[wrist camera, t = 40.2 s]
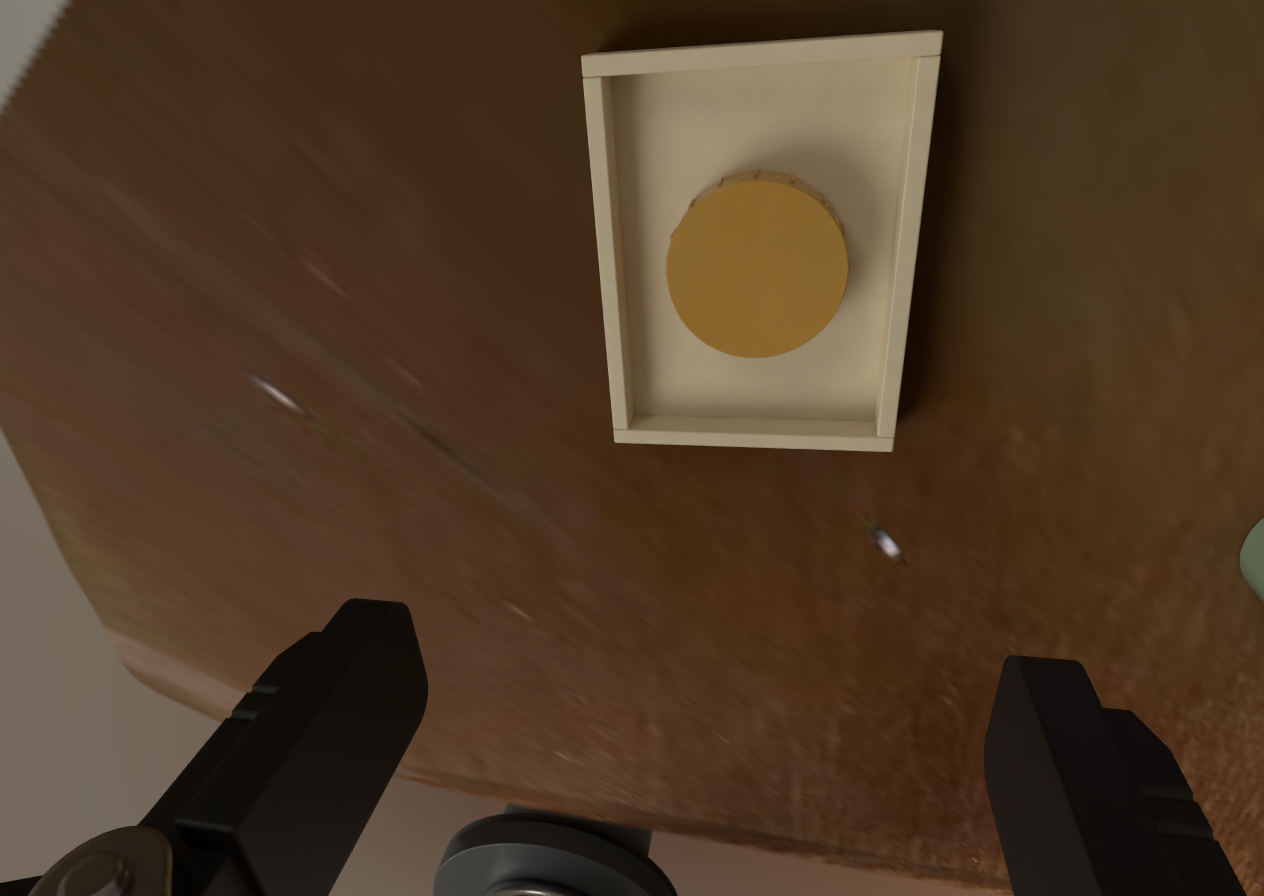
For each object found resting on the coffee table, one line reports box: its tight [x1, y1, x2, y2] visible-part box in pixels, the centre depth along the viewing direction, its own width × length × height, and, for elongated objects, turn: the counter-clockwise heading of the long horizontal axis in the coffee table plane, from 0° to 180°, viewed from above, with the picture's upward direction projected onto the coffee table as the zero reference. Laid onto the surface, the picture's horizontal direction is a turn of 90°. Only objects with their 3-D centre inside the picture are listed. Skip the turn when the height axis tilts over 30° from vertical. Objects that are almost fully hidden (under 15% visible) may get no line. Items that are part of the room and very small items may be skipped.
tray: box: [581, 30, 944, 452], centre depth 25 cm, size 13×10×2 cm
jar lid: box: [665, 168, 851, 358], centre depth 25 cm, size 6×6×2 cm
